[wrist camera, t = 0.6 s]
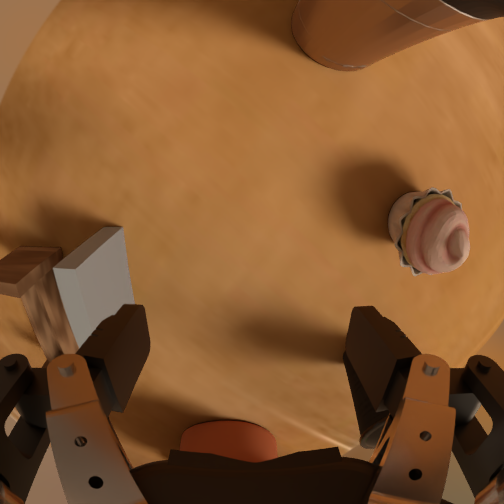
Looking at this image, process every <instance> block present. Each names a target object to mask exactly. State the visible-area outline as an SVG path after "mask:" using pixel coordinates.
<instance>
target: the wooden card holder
mask: <svg viewBox="0 0 504 504" xmlns="http://www.w3.org/2000/svg"><path fill="white" fill-rule="evenodd" d="M61 260H63V255H62V251H61V248H59V247H24V246H20V247H18V248H17V249H15V250H14V251H12V252H11V253H10V254H8V255H7V256H5V257H4V258H2V259H1V260H0V294H3V295H8V296H13V297H18V298H20V297H21V298H22V301H23V304H24V307H25V309H26V312H27V315H28V317H29V320H30V322H31V325H32V327H33V329H34V332H35V334H36V336H37V339H38V341H39V343H40V345H41V347H42V349H43V352H44V354H45V356H46V358H47V360H46V362H45V363H44V365H43V366H42V368H47V367H48V365H49V363H50V362H51V361H52V360H53V359H55V358H56V357H58V356H61V355H64V354H75V353H76V352H77V351H78V349H79V347H78V344H77V342H76V339H75V337H74V334H73V331H72V329H71V326H70V323H69V320H68V317H67V314H66V311H65V308H64V305H63V302H62V299H61V296H60V292H59V289H58V285H57V282H56V278H55V274H54V270H53V267H54V266H56V265H57V264H58V263H59V262H60V261H61Z"/></svg>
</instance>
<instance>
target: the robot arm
mask: <svg viewBox="0 0 504 504" xmlns="http://www.w3.org/2000/svg"><path fill="white" fill-rule="evenodd" d="M498 17H504V0H299V1H298V4H297V6H296V8H295V10H294V13H293V16H292V22H291V27H292V32H293V35H294V37H295V39H296V41H297V43H298V45H299V46H300V47H301V49H302V50H303V51H304V52H305V53H306V54H307V55H308V56H309V57H310V58H312V59H313V60H315V61H316V62H318V63H320V64H322V65H324V66H326V67H328V68H332V69H335V70H341V71H355V70H359V69H362V68H365V67H367V66H369V65H371V64H373V63H375V62H377V61H379V60H382V59H384V58H386V57H388V56H390V55H393V54H395V53H397V52H399V51H402V50H404V49H406V48H409V47H411V46H413V45H416V44H418V43H421V42H423V41H426V40H428V39H431V38H434V37H436V36H439V35H442V34H444V33H447V32H450V31H453V30H456V29H459V28H462V27H465V26H468V25H471V24H475V23H478V22H482V21H485V20H489V19H494V18H498ZM149 352H150V337H149V331H148V325H147V319H146V313H145V308H144V306H143V305H137V304H123V305H122V306H121V308H120V309H119V310H118V311H117V313H116V314H115V315H111V316H109V317H107V318H106V319H104V320H102V321H101V323H100V324H99V325H98V326H97V327H96V330H94V331H93V332H92V333H91V336H89V337H88V338H87V340H86V341H85V342H84V343H83V344H82V346H81V347H80V348H79V349H78V351H77V352H76V353H75V354H64V355H61V356H58V357H56V358H55V359H53V360H52V361H51V362H50V363H49V365H48V367H47V368H31V366H30V364H29V361H28V359H27V357H25V356H24V355H22V354H11V355H8V356H6V357H4V358H2V359H1V360H0V504H25V501H26V498H27V496H28V493H29V491H30V488H31V486H32V483H33V480H34V478H35V476H36V473H37V471H38V468H39V466H40V464H41V461H42V459H43V457H44V455H45V453H46V450H47V448H48V446H49V444H50V442H51V447H52V451H53V455H54V459H55V463H56V467H57V470H58V474H59V478H60V481H61V484H62V487H63V490H64V493H65V496H66V499H67V502H68V504H453V503H451V502H448V501H446V500H443V499H442V495H443V491H444V487H445V483H446V478H447V474H448V468H449V463H450V457H451V451H452V452H453V453H454V455H455V457H456V459H457V461H458V463H459V465H460V467H461V469H462V471H463V474H464V475H465V478H466V480H467V482H468V484H469V486H470V488H471V490H472V493H473V495H474V497H475V503H474V504H504V371H503V370H502V369H501V368H500V367H499V366H498V365H497V363H495V362H494V361H493V360H492V359H490V358H488V357H486V356H482V355H474V356H472V357H470V358H469V360H468V362H467V364H466V366H465V368H450V367H449V365H448V364H447V362H446V361H444V360H443V359H442V358H440V357H438V356H435V355H431V354H421V352H420V351H419V350H418V349H417V348H416V347H415V345H414V344H413V343H412V342H411V341H410V340H409V339H408V337H406V335H405V334H404V333H403V332H402V331H401V329H400V328H399V327H398V326H397V325H396V324H395V323H394V322H392V321H391V320H389V319H387V318H386V317H383V316H382V315H381V314H380V313H379V312H378V311H377V310H376V308H375V307H374V306H359V307H354V308H353V310H352V313H351V319H350V324H349V329H348V333H347V338H346V353H347V356H348V358H349V360H350V362H351V364H352V366H353V368H354V370H355V372H356V373H357V375H358V377H359V379H360V381H361V383H362V385H363V387H364V389H365V391H366V393H367V395H368V397H369V399H370V401H371V403H372V405H373V407H374V409H375V411H376V412H380V411H384V410H389V412H390V414H389V416H388V418H387V420H386V423H385V425H384V428H383V431H382V433H381V436H380V438H379V441H378V443H377V445H376V448H375V450H374V452H373V455H372V457H371V459H370V461H369V462H367V461H364V460H360V459H355V458H348V457H341V455H340V452H339V449H338V447H333V448H326V449H319V450H311V451H301V452H296V453H293V454H289V455H286V456H282V457H278V458H275V459H271V460H267V461H262V462H255V463H254V462H248V461H243V460H238V459H233V458H229V457H224V456H220V455H216V454H212V453H200V452H189V451H180V450H170V454H169V459H168V460H162V461H156V462H151V463H147V464H144V465H141V466H138V467H136V468H133V466H132V464H131V463H130V461H129V459H128V457H127V455H126V453H125V451H124V449H123V447H122V445H121V443H120V441H119V439H118V437H117V434H116V432H115V430H114V428H113V425H112V423H111V421H110V419H109V417H108V416H109V414H110V412H111V410H112V411H116V412H121V413H123V412H124V409H125V407H126V405H127V402H128V400H129V398H130V395H131V393H132V391H133V388H134V386H135V384H136V382H137V379H138V377H139V375H140V373H141V371H142V368H143V366H144V364H145V362H146V360H147V357H148V355H149ZM481 404H482V406H483V407H484V408H485V410H486V411H487V412H488V414H489V415H490V417H491V418H492V421H493V428H492V431H491V432H490V434H489V435H487V434H486V432H485V431H484V429H483V428H482V426H481V424H480V423H479V422H478V420H477V418H476V417H475V414H476V412H477V411H478V409H479V408H480V406H481ZM14 407H16V409H17V410H18V412H19V413H20V415H21V416H20V418H19V420H18V421H17V423H16V425H15V426H14V428H13V430H12V431H11V433H10V435H9V437H7V435H6V433H5V428H4V425H5V421H6V419H7V417H8V416H9V415H10V413H11V412H12V410H13V409H14Z"/></svg>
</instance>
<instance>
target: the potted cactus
mask: <svg viewBox="0 0 504 504" xmlns="http://www.w3.org/2000/svg"><path fill="white" fill-rule="evenodd" d="M180 451H189V452H200V453H212V454H216V455H220V456H224V457H229V458H233V459H238V460H243V461H248V462H254V463H255V462H262V461H267V460H271V459H275V458H278V455H277V445H276V440H275V438H274V436H273V435H272V434H271V433H270V432H269V431H267V430H266V429H264V428H262V427H260V426H258V425H255V424H251V423H247V422H241V421H212V422H206V423H201V424H197V425H194V426H192V427H190V428H188V429H187V430H185V431H184V433H183V434H182V437H181V443H180Z"/></svg>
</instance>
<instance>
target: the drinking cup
mask: <svg viewBox="0 0 504 504" xmlns="http://www.w3.org/2000/svg"><path fill="white" fill-rule="evenodd" d="M343 360H344V364H345V368H346V372H347V376H348V380H349V385H350V389H351V393H352V398H353V402H354V406H355V411H356V416H357V420H358V425H359V430H360V435H361V437H360V440H359V442H360V445H361V446H362V447H363V448H366V449H374V448H376V445H377V443H378V441H379V438H380V436H381V433H382V431H383V428H384V425H385V423H386V420H387V418H388V416H389V414H390V412H389V410H384V411H380V412H376V411H375V409H374V407H373V405H372V403H371V401H370V399H369V397H368V395H367V393H366V391H365V389H364V387H363V385H362V383H361V381H360V379H359V377H358V375H357V373H356V372H355V370H354V368H353V366H352V364H351V362H350V360H349V358H348V356H347V353H346V351H345V352H344V355H343Z"/></svg>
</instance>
